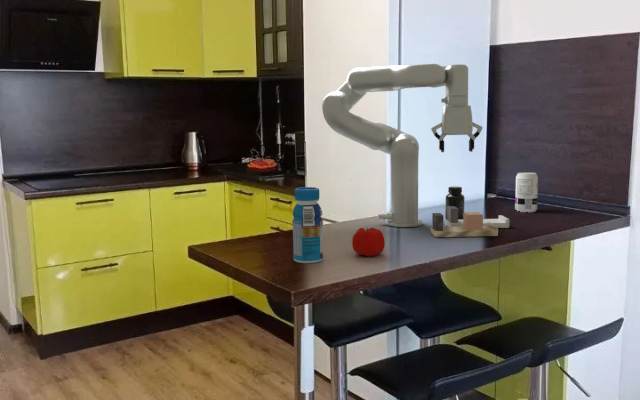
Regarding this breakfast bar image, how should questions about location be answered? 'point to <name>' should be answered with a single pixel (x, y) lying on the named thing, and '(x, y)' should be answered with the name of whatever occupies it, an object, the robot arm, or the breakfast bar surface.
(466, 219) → the terracotta block
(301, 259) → the beverage bottle
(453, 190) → the supplement bottle
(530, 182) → the supplement can
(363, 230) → the tomato
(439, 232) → the birch strip
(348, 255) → the breakfast bar surface
